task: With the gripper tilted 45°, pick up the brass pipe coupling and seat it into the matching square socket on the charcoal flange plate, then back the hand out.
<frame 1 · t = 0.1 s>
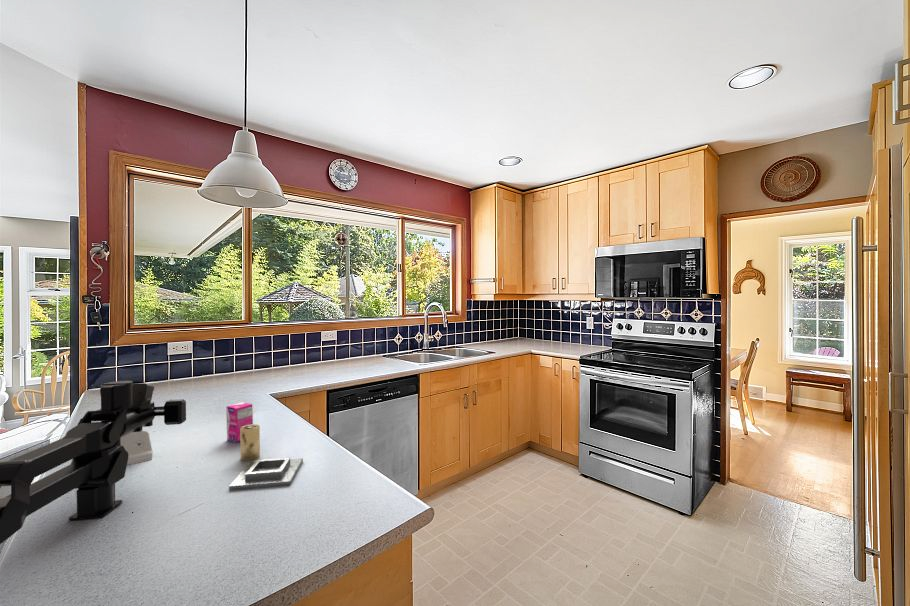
hand: (163, 405, 109), 17 cm above the countertop, tool horizontal, fingers open, 9 cm apart
flange plate: (268, 474, 101), on the countertop
supplement box: (240, 439, 128), on the countertop
brass coupling: (250, 457, 113), on the countertop
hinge: (115, 464, 110), on the countertop
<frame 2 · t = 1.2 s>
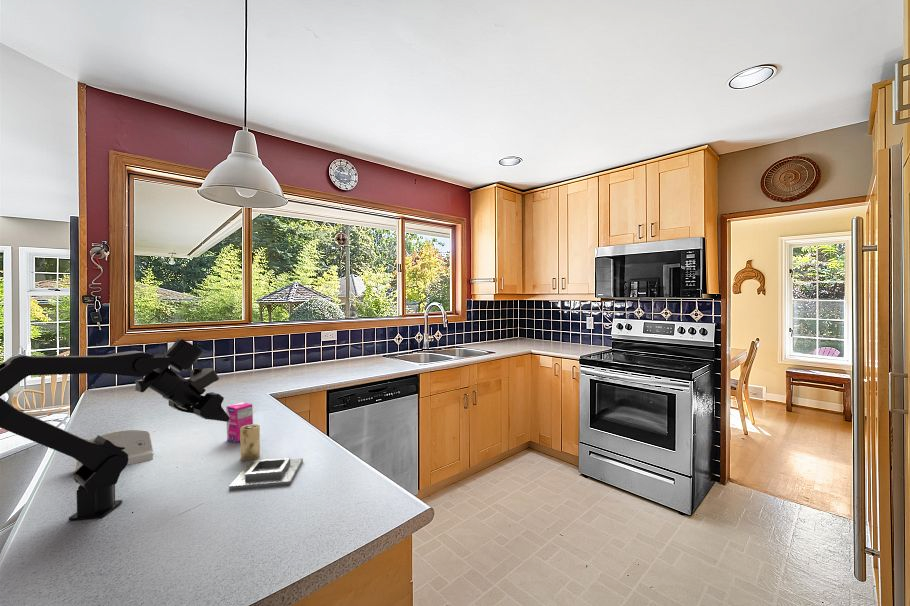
hand: (219, 417, 106), 14 cm above the countertop, tool tilted 45°, fingers open, 9 cm apart
nothing on the countertop moved.
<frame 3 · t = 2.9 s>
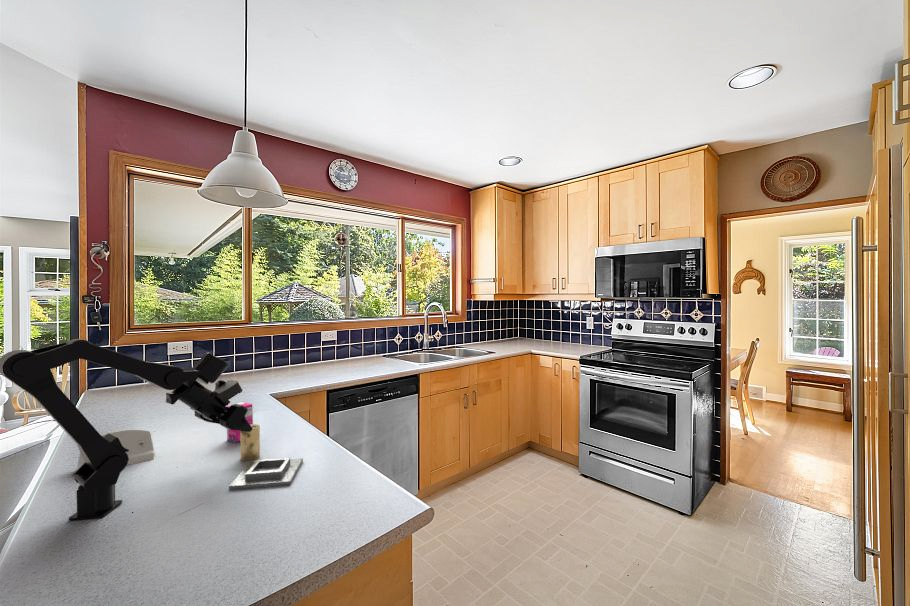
hand: (242, 427, 111), 10 cm above the countertop, tool tilted 45°, fingers open, 9 cm apart
nothing on the countertop moved.
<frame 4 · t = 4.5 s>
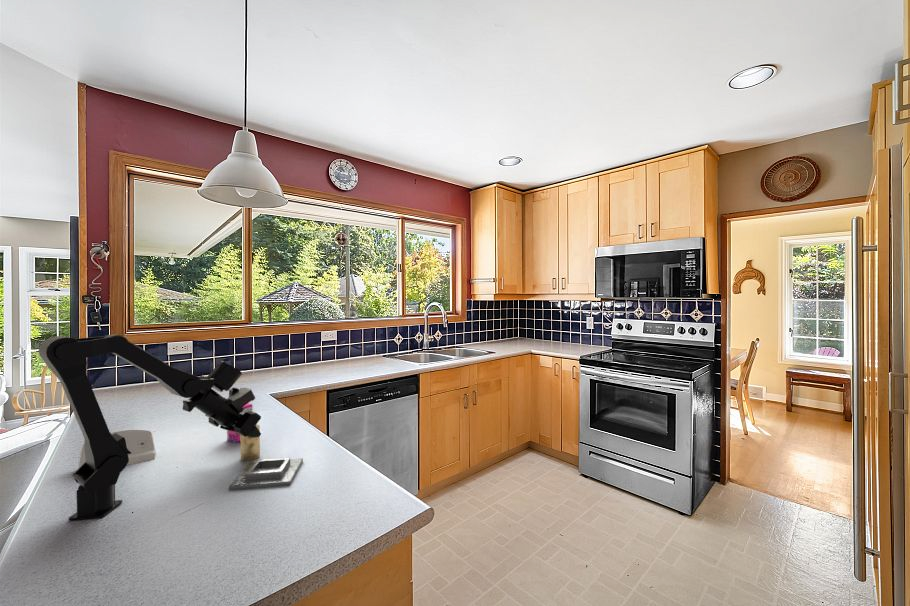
hand: (254, 433, 114), 7 cm above the countertop, tool tilted 45°, fingers closed on brass coupling, 5 cm apart
brass coupling: (250, 457, 113), on the countertop, touching gripper
everything else where it was.
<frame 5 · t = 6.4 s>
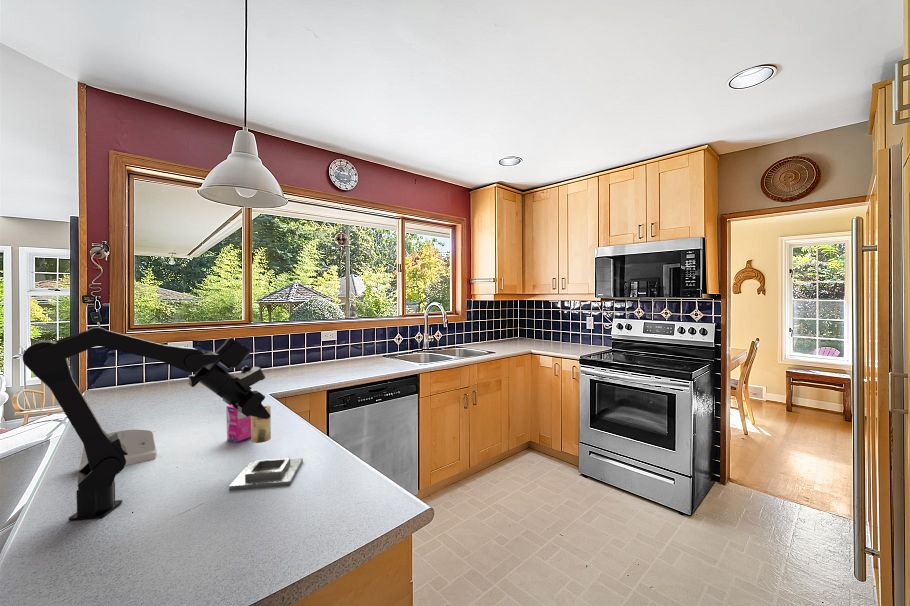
hand: (265, 415, 109), 13 cm above the countertop, tool tilted 45°, fingers closed on brass coupling, 5 cm apart
brass coupling: (261, 439, 108), point 7 cm above the countertop, touching gripper
everything else where it was.
when the fingers open (8 cm above the countertop, at t = 8.6 s): brass coupling stays where it is, resting on flange plate.
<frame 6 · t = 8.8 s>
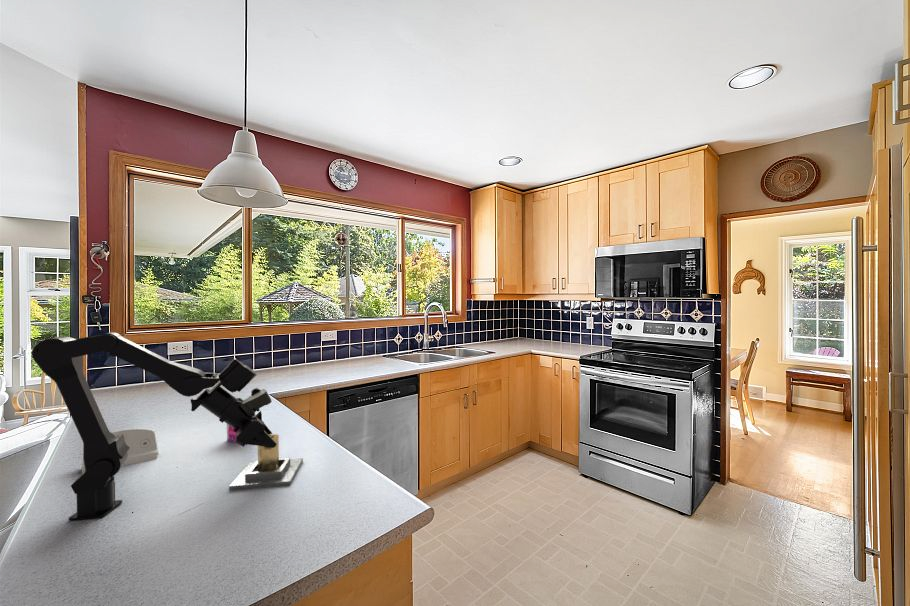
hand: (274, 441, 102), 9 cm above the countertop, tool tilted 45°, fingers open, 7 cm apart
brass coupling: (268, 471, 101), point 1 cm above the countertop, touching flange plate
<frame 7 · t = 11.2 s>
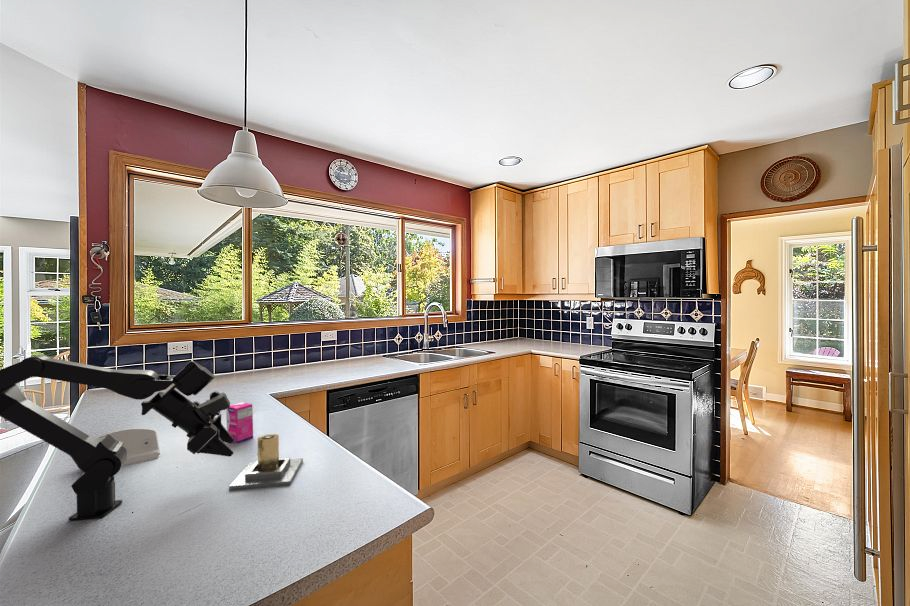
hand: (232, 448, 98), 9 cm above the countertop, tool tilted 45°, fingers open, 9 cm apart
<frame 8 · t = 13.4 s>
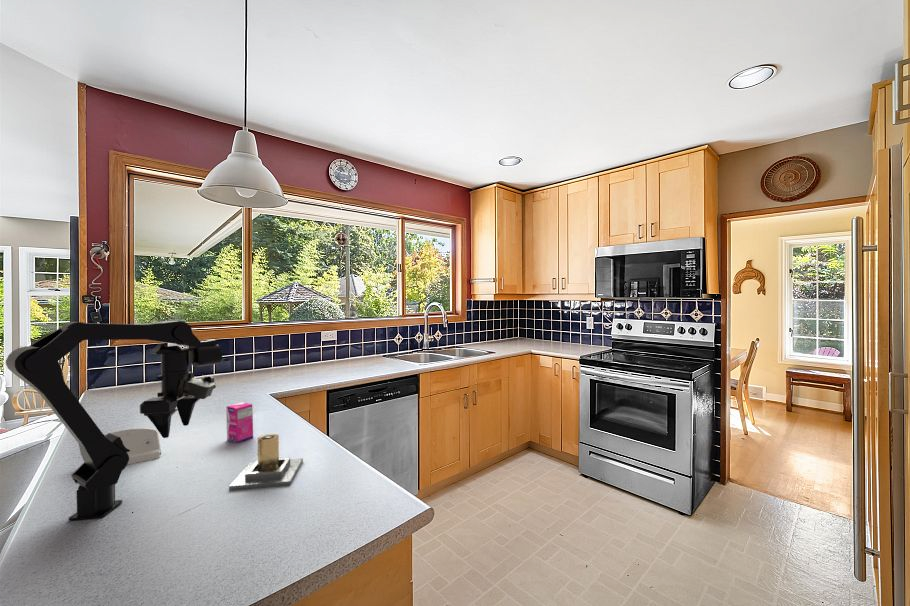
hand: (176, 431, 98), 13 cm above the countertop, tool pointing down, fingers open, 9 cm apart
at the end: brass coupling 0.1 cm off-centre on the flange plate, point 1.0 cm above the flange plate's base; brass coupling tilted 0°; the gripper is holding nothing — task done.
